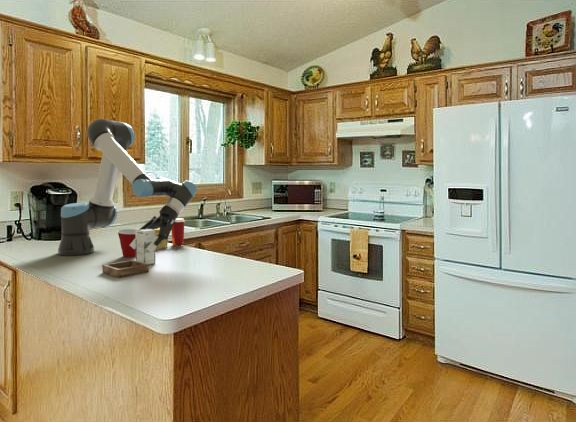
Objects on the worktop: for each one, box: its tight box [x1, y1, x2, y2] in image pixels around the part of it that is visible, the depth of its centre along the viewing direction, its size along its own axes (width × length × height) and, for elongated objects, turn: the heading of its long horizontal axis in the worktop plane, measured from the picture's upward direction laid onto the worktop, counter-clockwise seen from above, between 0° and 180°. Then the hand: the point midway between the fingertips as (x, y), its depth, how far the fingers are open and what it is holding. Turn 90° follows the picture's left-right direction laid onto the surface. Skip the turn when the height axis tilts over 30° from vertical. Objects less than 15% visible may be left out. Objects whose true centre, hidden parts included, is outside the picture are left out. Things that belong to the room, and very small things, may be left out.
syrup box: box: [135, 229, 156, 266], centre depth 165 cm, size 6×6×14 cm
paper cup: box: [171, 217, 186, 247], centre depth 214 cm, size 8×8×14 cm
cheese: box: [154, 228, 169, 250], centre depth 205 cm, size 10×11×10 cm
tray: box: [101, 259, 150, 279], centre depth 151 cm, size 12×12×3 cm
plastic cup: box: [116, 228, 137, 258], centre depth 181 cm, size 11×11×12 cm
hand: (140, 249), depth 164 cm, fingers open, 12 cm apart
